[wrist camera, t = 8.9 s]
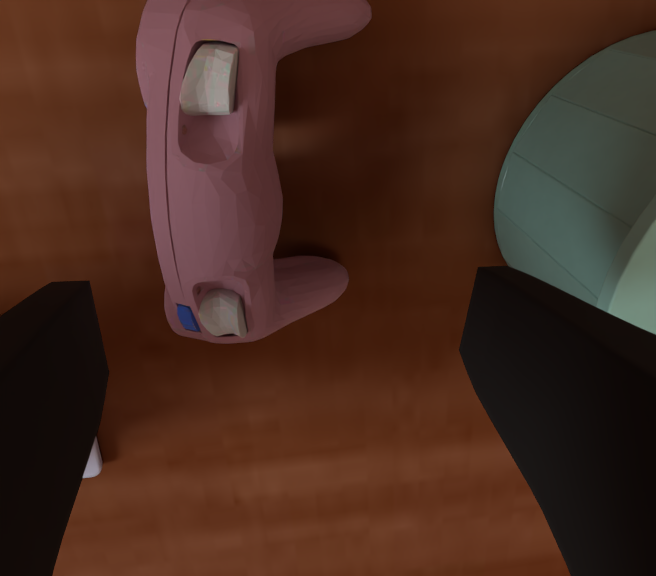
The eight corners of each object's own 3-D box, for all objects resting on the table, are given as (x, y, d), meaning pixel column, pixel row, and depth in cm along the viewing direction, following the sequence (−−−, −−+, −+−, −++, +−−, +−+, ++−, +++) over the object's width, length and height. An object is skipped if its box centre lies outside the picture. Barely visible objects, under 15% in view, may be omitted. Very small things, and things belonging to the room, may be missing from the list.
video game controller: (232, -30, 15) (58, -38, 9) (383, -20, 14) (291, -23, 8) (242, 264, 20) (133, 375, 15) (354, 288, 19) (284, 416, 14)
